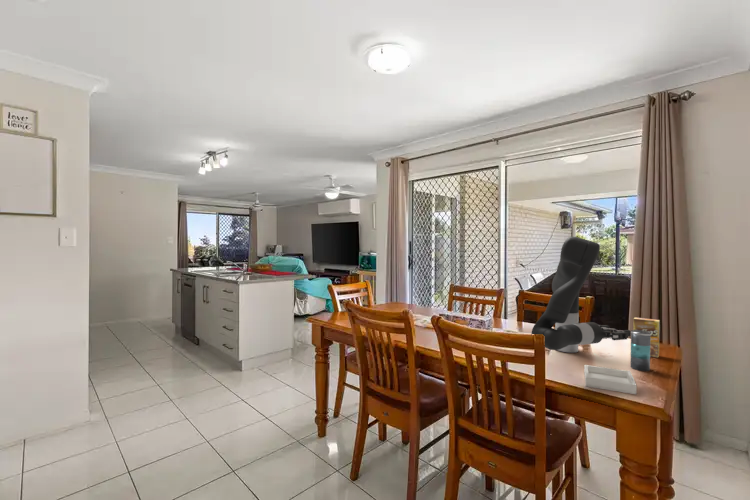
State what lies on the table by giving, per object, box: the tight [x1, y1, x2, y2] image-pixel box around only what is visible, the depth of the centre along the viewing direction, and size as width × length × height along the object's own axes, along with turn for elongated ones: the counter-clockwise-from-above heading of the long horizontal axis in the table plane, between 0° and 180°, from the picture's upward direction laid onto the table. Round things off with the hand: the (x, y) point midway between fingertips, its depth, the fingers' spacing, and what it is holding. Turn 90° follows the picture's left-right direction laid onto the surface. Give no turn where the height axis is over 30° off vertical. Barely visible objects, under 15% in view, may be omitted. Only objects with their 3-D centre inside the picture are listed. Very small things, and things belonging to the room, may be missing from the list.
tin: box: [629, 329, 651, 372], centre depth 138 cm, size 6×6×14 cm
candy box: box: [632, 316, 661, 358], centre depth 155 cm, size 9×4×15 cm, turn 50°
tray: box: [583, 364, 637, 395], centre depth 125 cm, size 14×14×3 cm
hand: (618, 330), depth 135 cm, fingers open, 8 cm apart
